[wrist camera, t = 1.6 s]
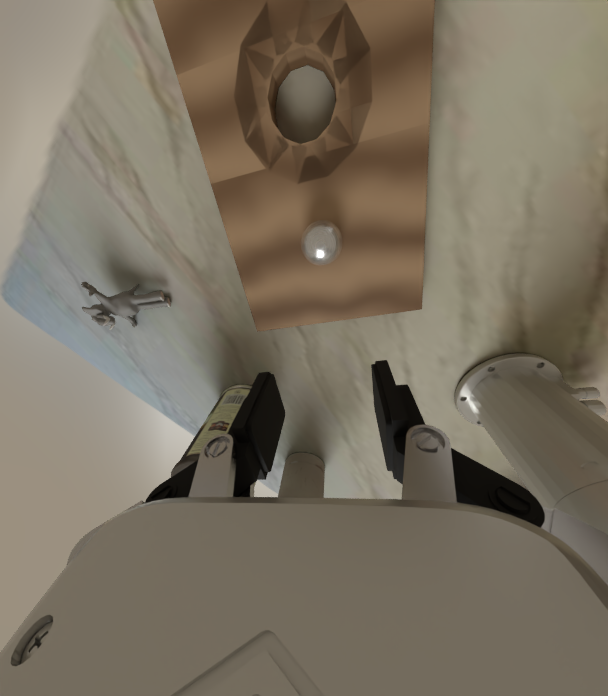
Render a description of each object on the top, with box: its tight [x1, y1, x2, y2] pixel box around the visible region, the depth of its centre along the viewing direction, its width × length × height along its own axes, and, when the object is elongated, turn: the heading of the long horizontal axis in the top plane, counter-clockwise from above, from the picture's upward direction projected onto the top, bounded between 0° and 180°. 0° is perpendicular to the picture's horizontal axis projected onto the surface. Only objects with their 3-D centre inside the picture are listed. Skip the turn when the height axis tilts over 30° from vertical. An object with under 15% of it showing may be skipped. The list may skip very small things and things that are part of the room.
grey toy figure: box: [81, 282, 171, 330], centre depth 31 cm, size 10×6×9 cm
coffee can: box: [171, 385, 256, 486], centre depth 35 cm, size 10×10×14 cm
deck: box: [153, 0, 435, 331], centre depth 23 cm, size 28×20×2 cm
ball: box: [301, 220, 342, 265], centre depth 23 cm, size 4×4×4 cm
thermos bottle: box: [278, 452, 325, 498], centre depth 35 cm, size 8×8×28 cm
